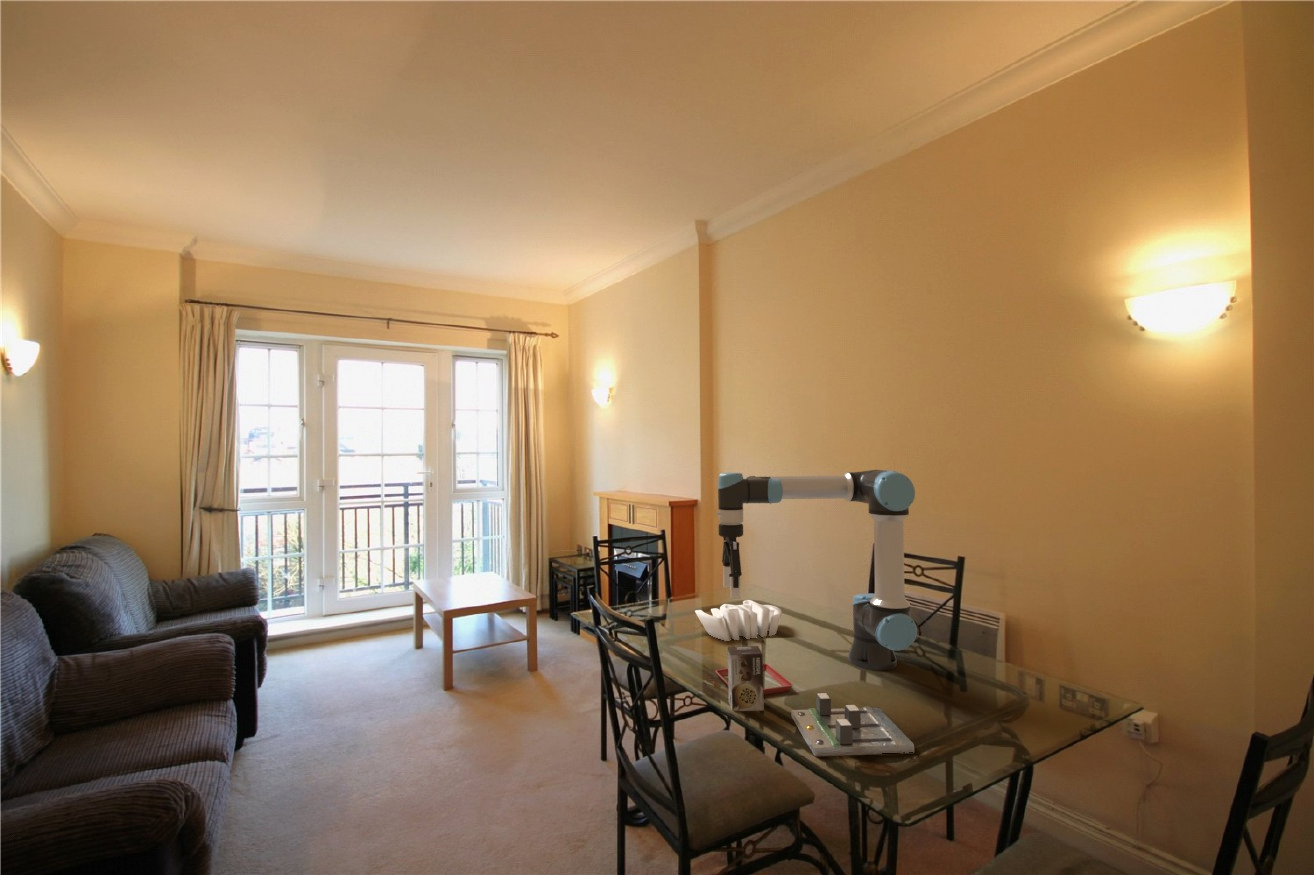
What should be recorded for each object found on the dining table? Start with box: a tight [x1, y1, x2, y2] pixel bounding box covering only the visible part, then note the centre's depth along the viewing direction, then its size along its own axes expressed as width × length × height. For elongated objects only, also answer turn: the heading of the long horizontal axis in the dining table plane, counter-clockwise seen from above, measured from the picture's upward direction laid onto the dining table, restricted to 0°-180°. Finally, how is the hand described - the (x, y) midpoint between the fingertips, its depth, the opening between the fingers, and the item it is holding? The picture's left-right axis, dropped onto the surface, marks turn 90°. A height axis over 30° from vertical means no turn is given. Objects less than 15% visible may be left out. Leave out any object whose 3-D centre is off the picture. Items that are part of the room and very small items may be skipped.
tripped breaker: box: [844, 704, 861, 728], centre depth 150 cm, size 3×3×4 cm
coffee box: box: [727, 645, 765, 712], centre depth 166 cm, size 9×6×16 cm
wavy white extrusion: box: [694, 599, 783, 642], centre depth 231 cm, size 35×16×11 cm, turn 106°
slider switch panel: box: [790, 705, 915, 757], centre depth 150 cm, size 24×20×3 cm
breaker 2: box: [836, 719, 853, 744], centre depth 142 cm, size 3×3×4 cm
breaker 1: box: [815, 692, 832, 715], centre depth 157 cm, size 3×3×4 cm
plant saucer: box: [715, 663, 794, 695], centre depth 180 cm, size 18×18×3 cm
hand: (731, 592), depth 181 cm, fingers open, 13 cm apart
